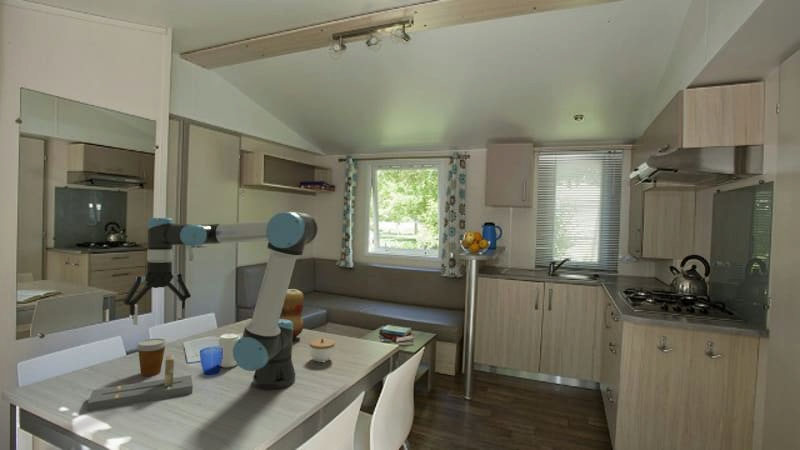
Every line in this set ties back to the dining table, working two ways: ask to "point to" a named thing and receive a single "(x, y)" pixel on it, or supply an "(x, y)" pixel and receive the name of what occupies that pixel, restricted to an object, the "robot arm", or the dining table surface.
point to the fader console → (138, 392)
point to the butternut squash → (293, 310)
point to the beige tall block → (169, 370)
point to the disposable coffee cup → (151, 356)
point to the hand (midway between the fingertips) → (157, 320)
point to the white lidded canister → (228, 348)
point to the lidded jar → (321, 349)
